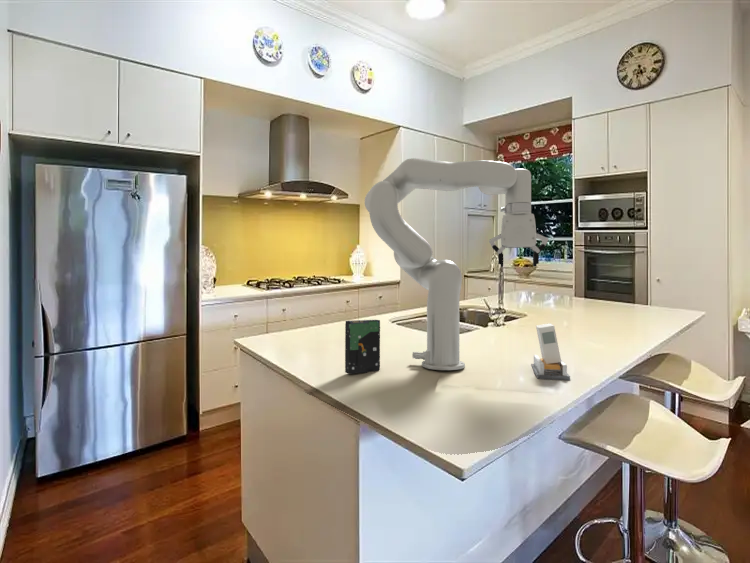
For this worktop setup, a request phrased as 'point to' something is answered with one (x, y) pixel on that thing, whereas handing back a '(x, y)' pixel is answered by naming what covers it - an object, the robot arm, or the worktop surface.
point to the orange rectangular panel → (551, 365)
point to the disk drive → (362, 346)
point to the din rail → (549, 370)
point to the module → (548, 343)
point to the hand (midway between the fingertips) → (518, 266)
